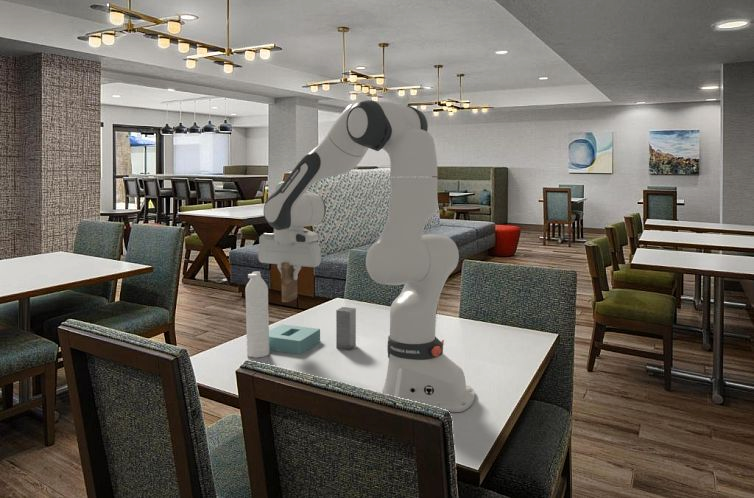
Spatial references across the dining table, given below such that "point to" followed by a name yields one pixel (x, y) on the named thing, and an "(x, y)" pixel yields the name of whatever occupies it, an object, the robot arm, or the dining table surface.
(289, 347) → the socket block
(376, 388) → the dining table surface
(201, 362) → the dining table surface
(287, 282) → the walnut blade
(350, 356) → the dining table surface
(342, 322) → the square metal peg
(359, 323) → the dining table surface
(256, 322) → the water bottle
